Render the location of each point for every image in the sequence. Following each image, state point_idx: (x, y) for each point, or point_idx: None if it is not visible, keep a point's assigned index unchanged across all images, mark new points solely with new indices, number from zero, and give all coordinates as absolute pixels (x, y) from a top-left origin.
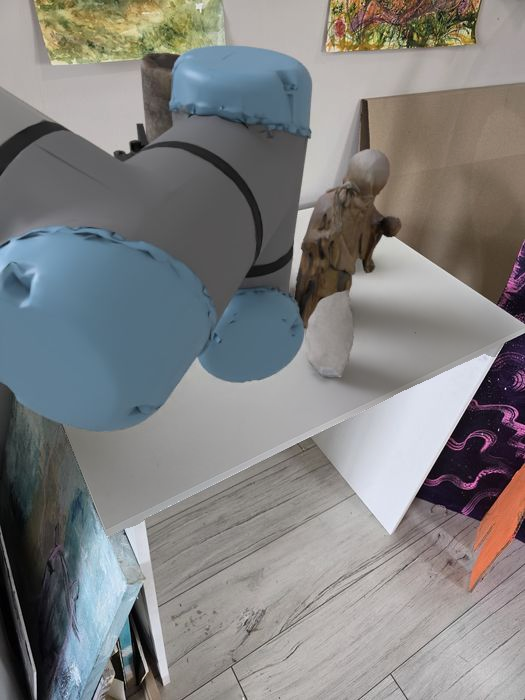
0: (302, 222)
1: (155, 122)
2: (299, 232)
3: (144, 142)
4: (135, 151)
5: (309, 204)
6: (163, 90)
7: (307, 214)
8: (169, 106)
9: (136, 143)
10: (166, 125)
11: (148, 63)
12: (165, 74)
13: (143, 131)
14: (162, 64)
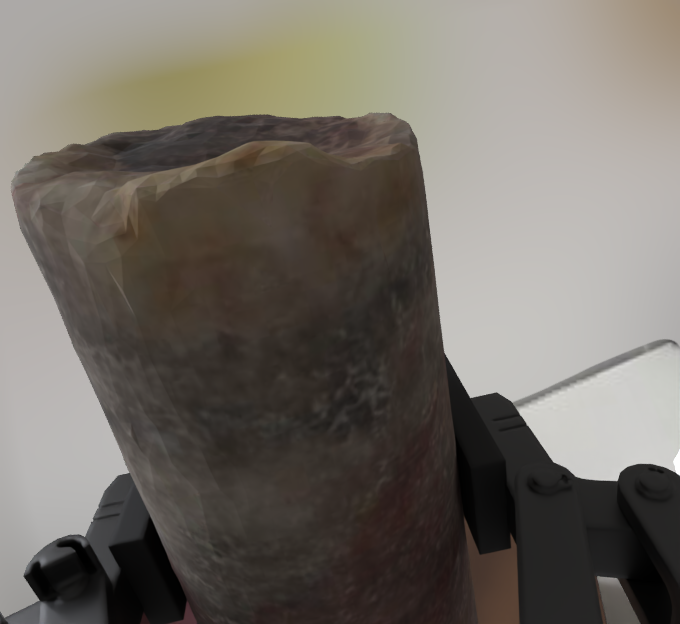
0: (613, 400)
1: (131, 461)
2: (616, 425)
3: (135, 515)
4: (54, 612)
5: (611, 358)
6: (103, 305)
7: (616, 380)
8: (165, 389)
9: (62, 564)
10: (181, 480)
11: (62, 169)
12: (97, 204)
13: None
14: (151, 159)
